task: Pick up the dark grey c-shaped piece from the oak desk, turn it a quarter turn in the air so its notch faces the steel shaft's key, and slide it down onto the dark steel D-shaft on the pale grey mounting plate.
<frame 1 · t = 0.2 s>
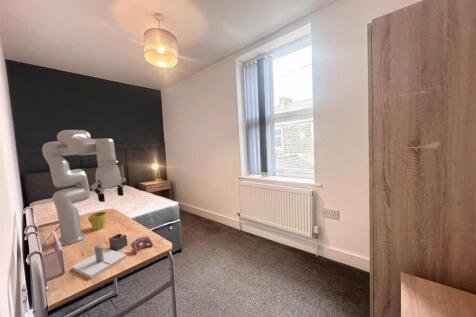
hand: (111, 198, 97), 30 cm above the table, fingers open, 9 cm apart
video game controller: (142, 248, 107), on the table
plant pot: (99, 228, 135), on the table
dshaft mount: (100, 263, 95), on the table
dark grey c-shaped piece: (119, 246, 109), on the table
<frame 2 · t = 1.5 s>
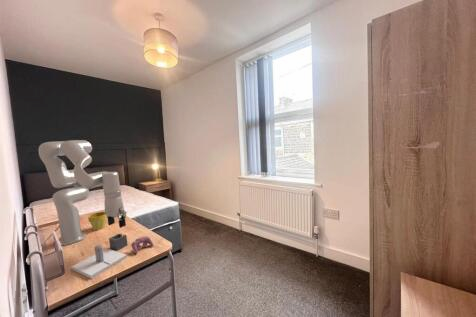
hand: (117, 225, 108), 13 cm above the table, fingers open, 9 cm apart
nothing on the table moved.
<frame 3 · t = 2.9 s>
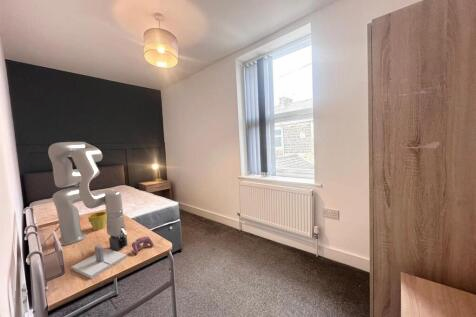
hand: (118, 245, 109), 1 cm above the table, fingers closed on dark grey c-shaped piece, 6 cm apart
dark grey c-shaped piece: (119, 246, 109), on the table, touching gripper
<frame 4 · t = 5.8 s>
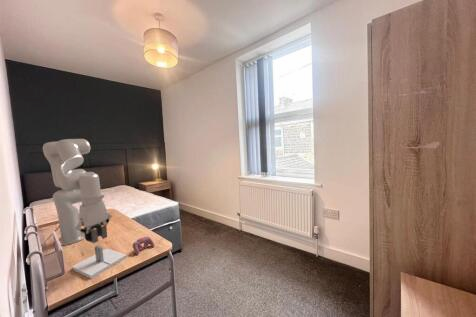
hand: (96, 236, 94), 14 cm above the table, fingers closed on dark grey c-shaped piece, 6 cm apart
dark grey c-shaped piece: (97, 238, 94), point 12 cm above the table, touching gripper
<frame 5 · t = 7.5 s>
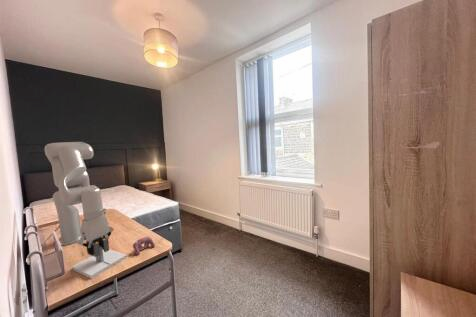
hand: (98, 250, 94), 7 cm above the table, fingers closed on dark grey c-shaped piece, 6 cm apart
dark grey c-shaped piece: (99, 252, 94), point 6 cm above the table, touching gripper
when the fingers open (4 cm above the table, at t = 8.7 s): dark grey c-shaped piece drops 1 cm, resting on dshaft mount.
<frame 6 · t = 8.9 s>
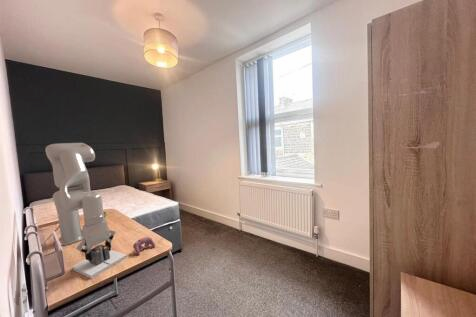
hand: (99, 254, 95), 4 cm above the table, fingers open, 8 cm apart
dark grey c-shaped piece: (99, 260, 95), point 1 cm above the table, touching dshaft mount
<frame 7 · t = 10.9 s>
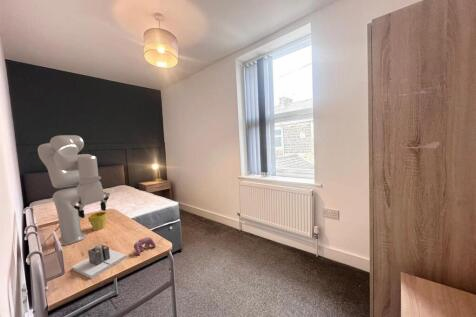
hand: (93, 213, 99), 23 cm above the table, fingers open, 9 cm apart
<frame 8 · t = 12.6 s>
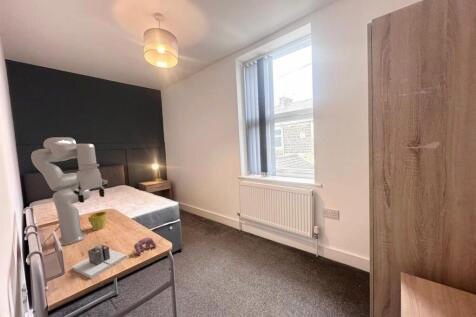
hand: (92, 199, 104), 28 cm above the table, fingers open, 9 cm apart
at the end: dark grey c-shaped piece 0.0 cm off-centre on the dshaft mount, point 1.5 cm above the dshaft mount's base; dark grey c-shaped piece tilted 0°; the gripper is holding nothing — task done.
